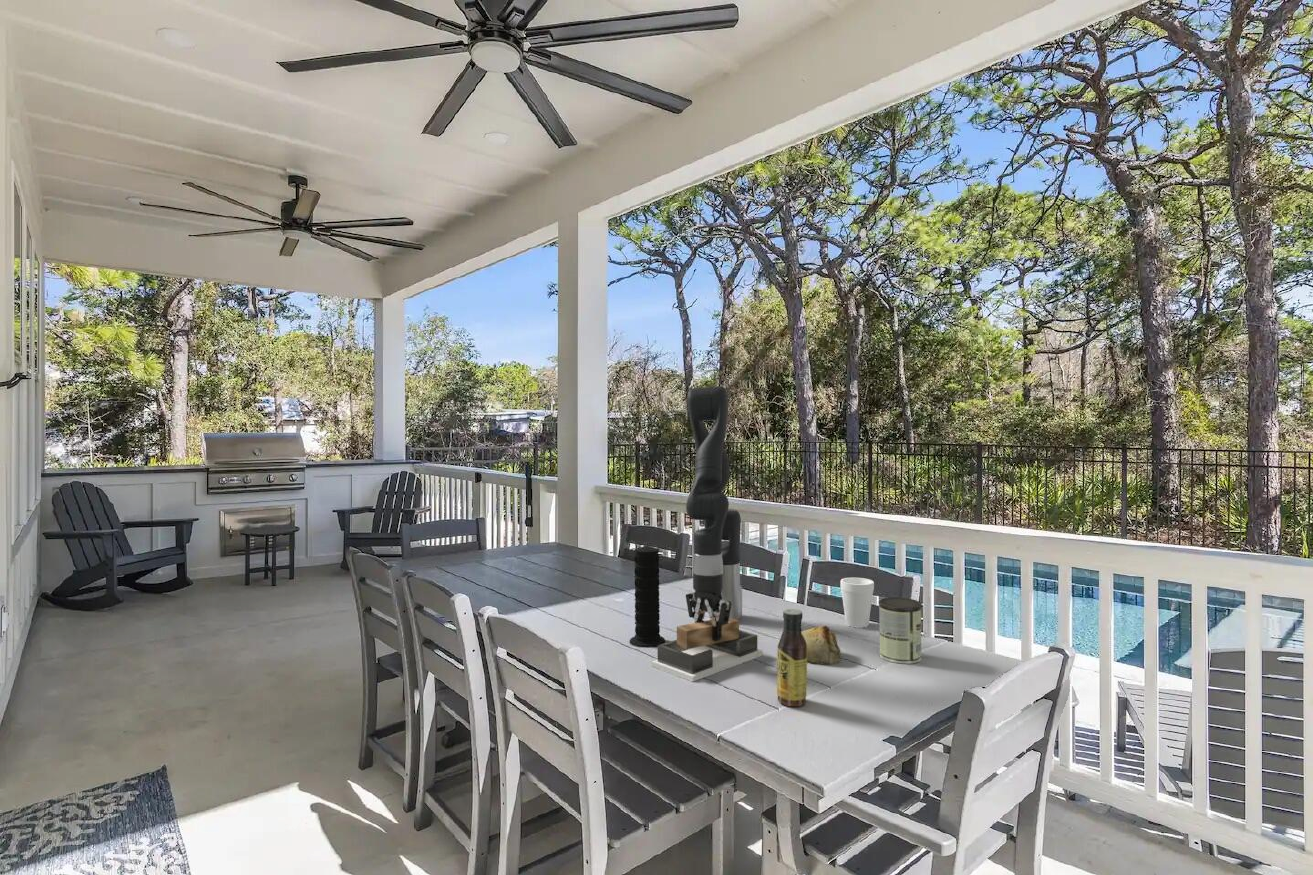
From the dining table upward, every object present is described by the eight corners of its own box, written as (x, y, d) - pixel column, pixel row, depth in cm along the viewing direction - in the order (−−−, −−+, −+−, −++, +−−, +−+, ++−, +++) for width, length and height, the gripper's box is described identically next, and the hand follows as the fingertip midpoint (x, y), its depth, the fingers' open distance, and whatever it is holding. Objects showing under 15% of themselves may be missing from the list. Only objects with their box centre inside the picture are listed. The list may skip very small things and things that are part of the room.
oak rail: (728, 633, 179) (728, 616, 179) (739, 638, 175) (739, 620, 175) (676, 644, 171) (676, 626, 171) (686, 649, 167) (686, 630, 167)
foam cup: (862, 631, 196) (862, 586, 196) (834, 624, 203) (834, 581, 202) (880, 625, 202) (879, 581, 202) (852, 618, 209) (852, 576, 209)
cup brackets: (722, 639, 186) (722, 625, 186) (757, 650, 177) (757, 635, 177) (657, 661, 170) (657, 645, 169) (692, 674, 161) (692, 657, 161)
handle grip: (625, 646, 185) (661, 648, 183) (624, 548, 184) (661, 549, 182) (634, 634, 195) (668, 636, 193) (633, 542, 194) (667, 543, 192)
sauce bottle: (773, 697, 150) (773, 606, 150) (801, 695, 151) (801, 605, 150) (781, 709, 144) (781, 615, 143) (811, 708, 144) (810, 614, 144)
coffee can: (879, 648, 181) (879, 595, 181) (920, 652, 178) (920, 598, 178) (878, 661, 172) (878, 605, 171) (922, 666, 168) (922, 609, 168)
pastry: (850, 663, 171) (850, 631, 171) (803, 667, 168) (803, 635, 168) (825, 645, 185) (825, 616, 184) (781, 649, 182) (781, 619, 182)
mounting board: (722, 642, 187) (722, 638, 187) (763, 655, 177) (763, 650, 177) (651, 666, 170) (651, 661, 170) (692, 681, 159) (692, 676, 159)
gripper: (739, 573, 170) (739, 641, 170) (697, 564, 181) (698, 628, 181) (719, 577, 165) (719, 648, 165) (677, 568, 176) (677, 634, 176)
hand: (708, 637), depth 173 cm, fingers closed on oak rail, 5 cm apart
